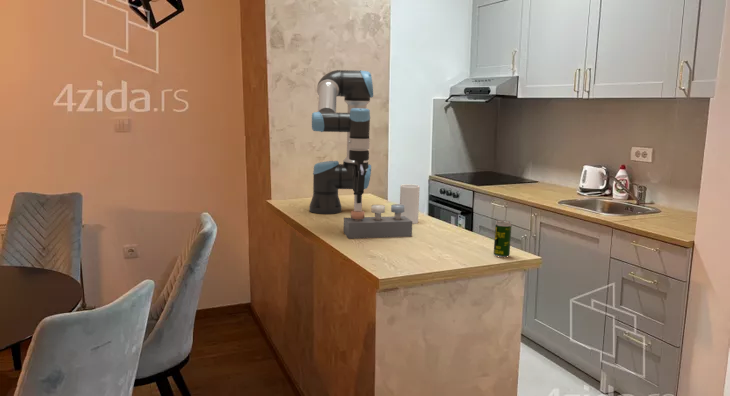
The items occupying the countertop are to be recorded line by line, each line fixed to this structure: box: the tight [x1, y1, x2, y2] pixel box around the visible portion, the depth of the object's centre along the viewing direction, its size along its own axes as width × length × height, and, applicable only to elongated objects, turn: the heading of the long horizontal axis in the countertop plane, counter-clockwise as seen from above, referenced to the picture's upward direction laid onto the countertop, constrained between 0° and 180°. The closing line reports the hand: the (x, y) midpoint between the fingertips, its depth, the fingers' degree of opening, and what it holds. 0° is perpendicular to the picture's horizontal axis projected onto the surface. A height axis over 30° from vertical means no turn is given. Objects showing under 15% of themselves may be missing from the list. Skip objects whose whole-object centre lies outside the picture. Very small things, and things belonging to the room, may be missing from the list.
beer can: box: [493, 219, 512, 258], centre depth 190 cm, size 5×5×12 cm
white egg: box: [370, 204, 386, 220], centre depth 217 cm, size 5×5×7 cm
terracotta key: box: [350, 210, 366, 221], centre depth 215 cm, size 5×5×7 cm
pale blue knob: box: [390, 203, 405, 220], centre depth 219 cm, size 5×5×7 cm
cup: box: [399, 183, 420, 225], centre depth 241 cm, size 8×8×16 cm
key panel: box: [343, 215, 413, 240], centre depth 218 cm, size 10×25×6 cm, turn 103°
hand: (357, 210), depth 215 cm, fingers closed
